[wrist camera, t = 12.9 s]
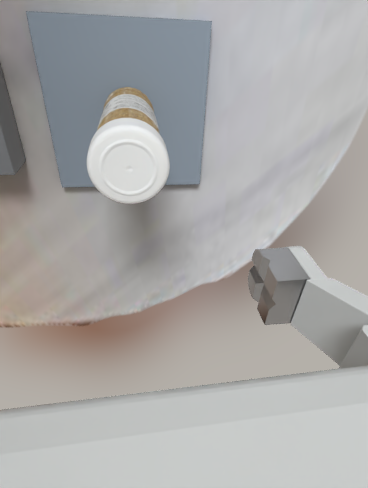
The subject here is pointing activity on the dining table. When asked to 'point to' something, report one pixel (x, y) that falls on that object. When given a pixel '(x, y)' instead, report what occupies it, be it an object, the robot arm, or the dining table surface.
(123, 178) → the sprinkles bottle
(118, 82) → the rubber mat
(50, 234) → the dining table surface
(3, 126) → the power strip
